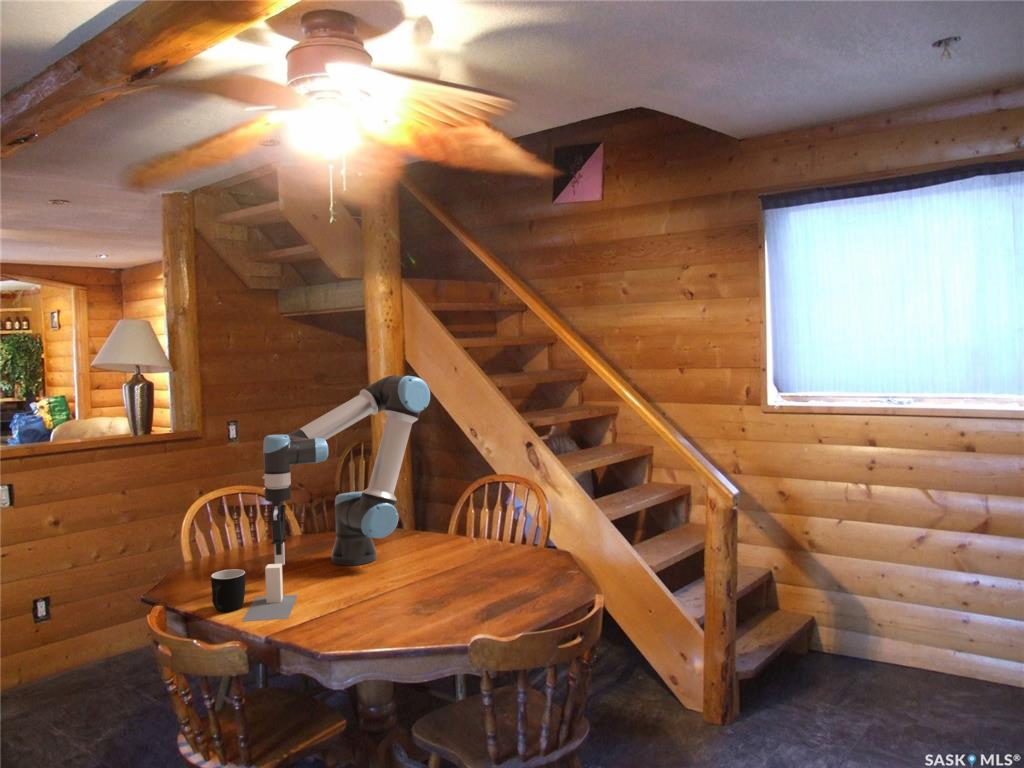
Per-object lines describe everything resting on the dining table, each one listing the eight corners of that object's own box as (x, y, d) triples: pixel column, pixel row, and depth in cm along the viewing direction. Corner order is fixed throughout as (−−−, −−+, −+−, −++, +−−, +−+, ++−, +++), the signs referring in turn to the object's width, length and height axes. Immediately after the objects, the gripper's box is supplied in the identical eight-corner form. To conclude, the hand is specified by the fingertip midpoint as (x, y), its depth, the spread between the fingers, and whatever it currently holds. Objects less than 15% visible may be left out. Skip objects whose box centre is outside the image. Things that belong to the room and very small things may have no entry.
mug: (223, 603, 221) (222, 568, 221) (252, 605, 220) (251, 569, 219) (199, 618, 210) (197, 581, 209) (229, 620, 208) (228, 582, 207)
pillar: (283, 597, 225) (282, 563, 224) (280, 602, 221) (279, 567, 220) (268, 598, 224) (267, 564, 224) (266, 603, 220) (265, 568, 219)
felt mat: (298, 595, 227) (298, 594, 227) (288, 620, 207) (288, 618, 207) (255, 598, 225) (255, 597, 225) (241, 622, 206) (241, 621, 206)
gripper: (268, 483, 238) (270, 559, 239) (260, 491, 225) (262, 571, 226) (293, 482, 239) (295, 558, 240) (287, 490, 226) (289, 570, 227)
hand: (279, 564), depth 233 cm, fingers closed
